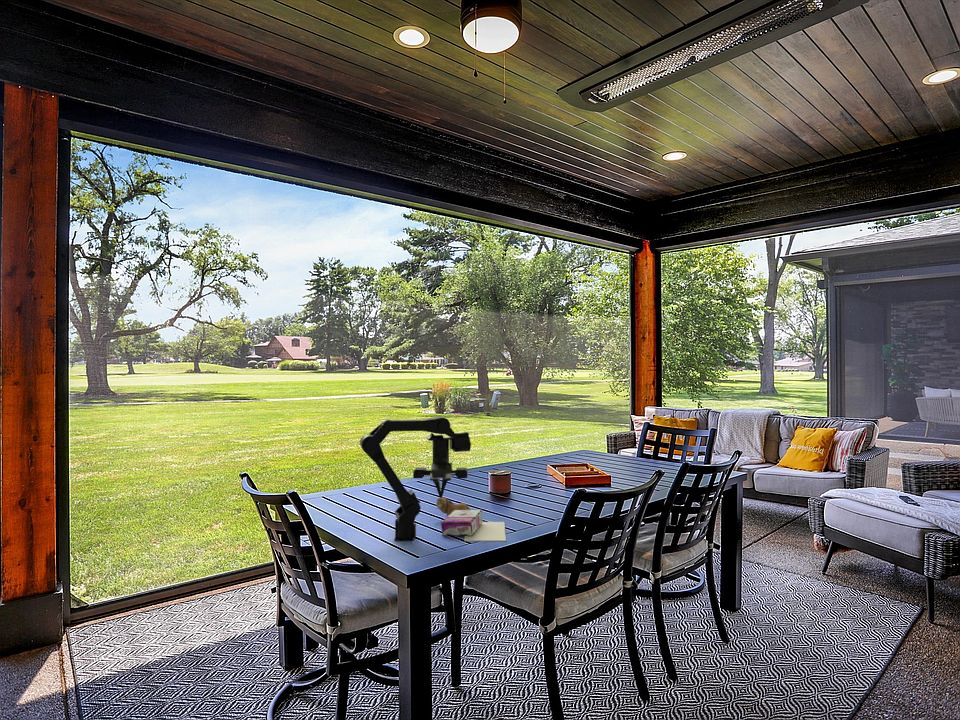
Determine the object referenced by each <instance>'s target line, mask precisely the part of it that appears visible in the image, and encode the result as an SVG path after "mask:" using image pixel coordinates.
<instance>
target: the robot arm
mask: <svg viewBox="0 0 960 720" xmlns="http://www.w3.org/2000/svg"><path fill="white" fill-rule="evenodd" d="M391 432H427V433H430V434H429V435H428V436H427V437H426V440H427V441H429V442H431V441H432V463H431V469H427V467H416V468H414V470H413V471H412V473H413V474H412V475H413V476H412V477H413V479H423V478H424V477H425V476H429V477H430V478H429V481H432V482H433V483H434V486H435V488H436V492H437V493H438V497H439V498H442V497H443V496H444V492H445V489H446V486H447V483H448V482H449V481H451V480H452V478H453V476H456V478H457V479H468V475H469V469H468V468H467V467H465V466H464V467H458V466H457V467H455V468H456V469H453V463H452V462H450V450H452V452H453V453H463V452H470V451H471V448H472V442H471V439H470V438H471V437H470V435H469V434H470V433H469V432H468V431H464V432H463V431H462V432H455V431H454V430H453V429H452V427H451V423H450V421H449V419H447V418H446V417H443V416H440V415H439V416H438V415H437V416H432V417H428V418H425V419H389V418H386V419H384V420H382V421H381V423H380V424H378V425H377V427H375V428H374V429H372V430H371V432H369V433H367V434H366V433H365V434H364V435H363V436H362V437H360V440H359V446H360V448H361V449H362V451H363V452H364V453H365V454H366V455H367V456H368V457H369V458H370V459H371V460H372V461H373V462H374V463H375V464H376V466H377V467H378V469H379V471H380V472H381V474H382V476H384V478H385V480H386V481H387V483H388V484H389V486H390V487H391V489H392V490H393V492H394V493H395V495H396V499H397V502H398V503H399V507H398V508H397V509H396V510H395V511H394V515H395V517H396V518H395V521H394V532H395V533H394V539H393V540H394V541H395V542H396V541H401V542H403V541H405V542H407V541H408V542H409V541H414V540H415V538H416V536H417V523H415V520H416V517H417V516H418V515H419V514H420V512H421V505H420V504H421V501H420V500H419V499H418V498H417V496H416V493H415V492H414V491H413V489H409V490H407V489H406V488H405V486H404V485H403V482H401V480H400V478H399V477H398V475H397V474H396V472H395V471H394V469H393V467H392V466H391V465H390V463H389V461H388V460H387V458H386V457H385V454H384V452H383V449H382V447H381V445H380V444H381V443H382V442H383V441H384V440H385V439H386V437H387V436H388V435H389V434H390V433H391ZM435 434H436V435H435ZM444 435H446V436H447V437H444ZM441 479H442V480H441Z"/></svg>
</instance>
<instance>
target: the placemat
mask: <svg viewBox="0 0 960 720" xmlns="http://www.w3.org/2000/svg"><path fill="white" fill-rule="evenodd" d="M505 525H506V524H505V521H483V522H482V524H481V525H480V526H479V528H478V529H477V530H476V531H475V533H474V534H473V535H472V536H469V535H464V542H506V541H507V538H506V526H505Z"/></svg>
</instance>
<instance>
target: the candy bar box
mask: <svg viewBox="0 0 960 720" xmlns="http://www.w3.org/2000/svg"><path fill="white" fill-rule="evenodd" d="M482 522H484V521H483V509H470V510H468V509H467V510H454V511H453V512H452V513H451V514H450V515H449V516H448V517H447V516H446V517H445V518H444V519H443V520H442V521H441V524H440V525H441V535H442V536H465V535H469V536H472V535H473V534H474V533H475V531H476V530H477V529H478V528H479V526H480V525H481V524H482Z"/></svg>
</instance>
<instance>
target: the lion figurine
mask: <svg viewBox="0 0 960 720" xmlns="http://www.w3.org/2000/svg"><path fill="white" fill-rule="evenodd" d="M435 506H436V508H437V509H438V510H439V511H441V513H442V514H446V517H448V516H449V515H450V514H451V513H452V512H453V511H454V510H471V509H470V507H469V505H468V504H466V503H463V502H462V503H454V502H453V501H451V500H450V499H448V498H446V497H443V496H442V498H440V497H439V498H437V499H436V505H435Z"/></svg>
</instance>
